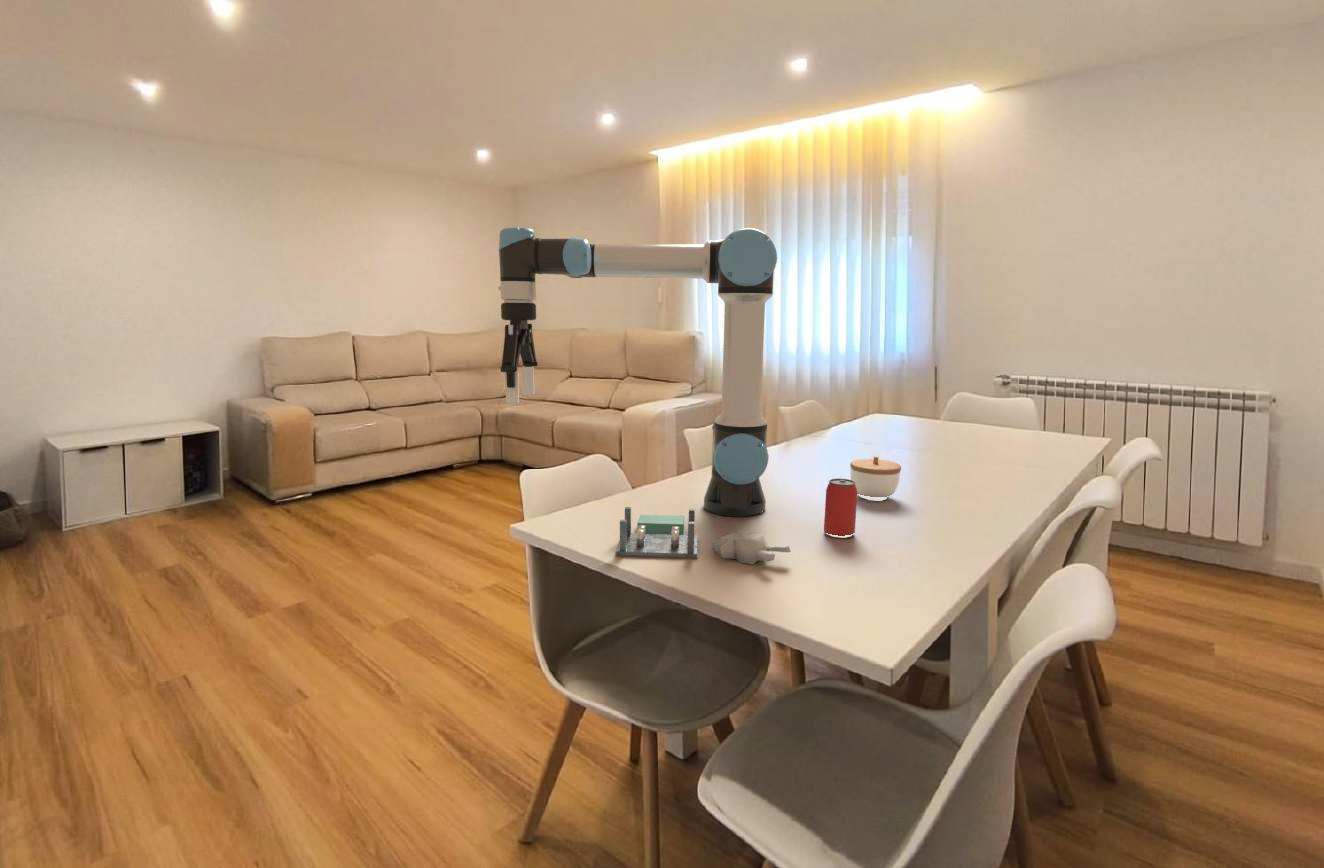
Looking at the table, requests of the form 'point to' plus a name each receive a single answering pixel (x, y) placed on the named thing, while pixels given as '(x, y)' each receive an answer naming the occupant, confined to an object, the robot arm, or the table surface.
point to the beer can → (840, 507)
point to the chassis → (656, 541)
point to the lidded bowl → (875, 476)
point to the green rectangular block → (661, 523)
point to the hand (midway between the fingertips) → (520, 398)
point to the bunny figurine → (747, 548)
